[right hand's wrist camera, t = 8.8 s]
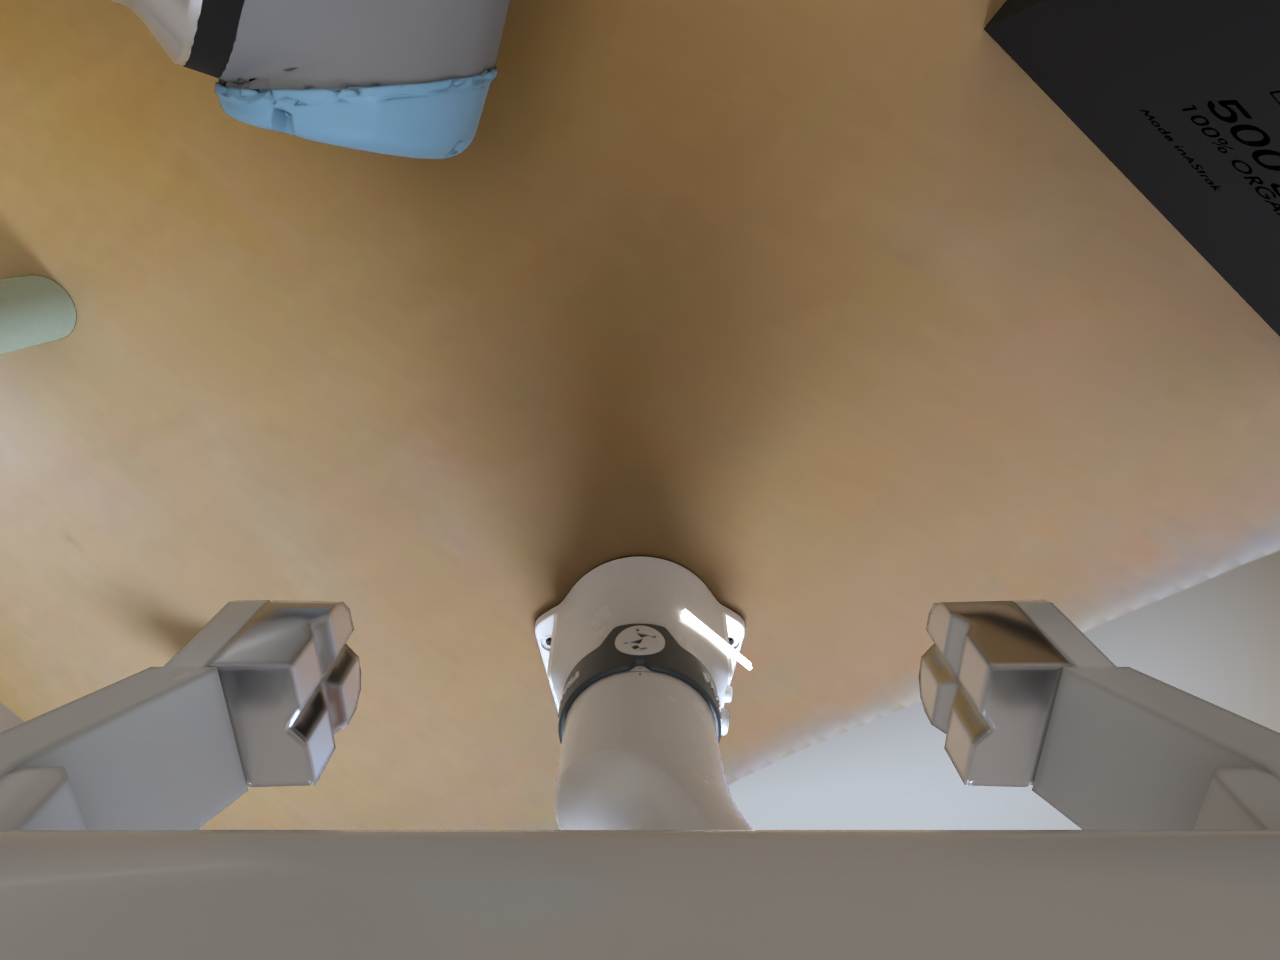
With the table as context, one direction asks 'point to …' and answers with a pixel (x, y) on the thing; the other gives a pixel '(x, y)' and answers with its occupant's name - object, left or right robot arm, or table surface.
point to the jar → (33, 312)
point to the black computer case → (1174, 113)
